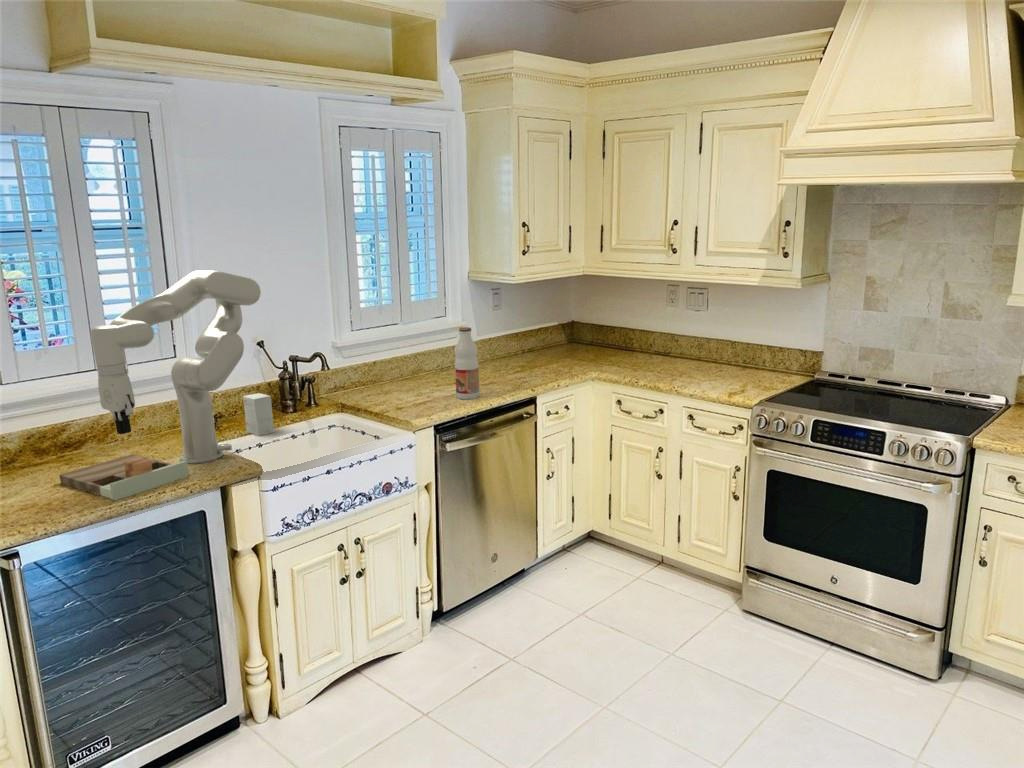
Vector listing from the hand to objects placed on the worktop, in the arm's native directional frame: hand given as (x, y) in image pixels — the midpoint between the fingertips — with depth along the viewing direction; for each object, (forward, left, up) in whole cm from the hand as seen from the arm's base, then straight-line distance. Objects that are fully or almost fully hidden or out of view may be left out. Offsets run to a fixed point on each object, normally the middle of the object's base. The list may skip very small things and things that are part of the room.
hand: (124, 432), depth 218 cm
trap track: (+4, -3, -14) cm, 15 cm away
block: (-4, +7, -12) cm, 14 cm away
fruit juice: (-108, -70, -14) cm, 130 cm away
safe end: (-5, +6, -14) cm, 16 cm away
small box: (-31, -41, -14) cm, 54 cm away
